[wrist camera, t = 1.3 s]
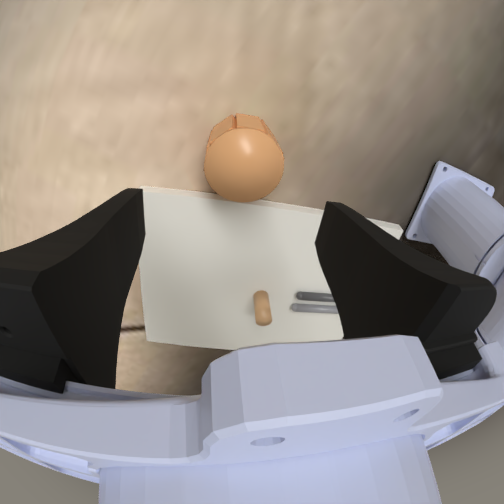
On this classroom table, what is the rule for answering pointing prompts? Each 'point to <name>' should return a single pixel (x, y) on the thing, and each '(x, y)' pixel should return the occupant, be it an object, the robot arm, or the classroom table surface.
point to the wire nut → (243, 159)
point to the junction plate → (234, 271)
